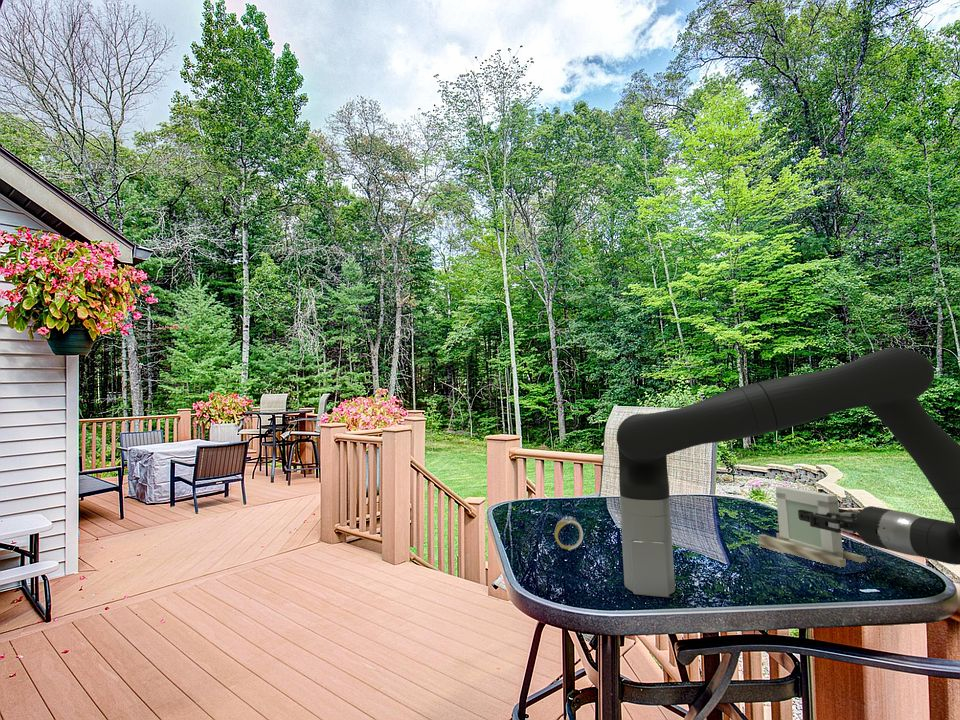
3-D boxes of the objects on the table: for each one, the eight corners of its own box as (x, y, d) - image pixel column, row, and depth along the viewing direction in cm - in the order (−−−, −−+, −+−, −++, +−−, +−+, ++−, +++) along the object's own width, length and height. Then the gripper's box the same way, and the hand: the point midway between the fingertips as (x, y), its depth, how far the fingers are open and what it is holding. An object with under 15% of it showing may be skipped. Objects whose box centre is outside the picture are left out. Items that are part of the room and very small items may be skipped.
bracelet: (582, 547, 115) (580, 514, 116) (584, 551, 112) (583, 517, 113) (554, 548, 115) (553, 515, 116) (556, 552, 112) (555, 518, 113)
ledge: (867, 571, 95) (865, 556, 95) (841, 575, 93) (839, 560, 94) (782, 545, 114) (781, 532, 115) (759, 547, 113) (758, 534, 113)
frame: (843, 563, 98) (837, 495, 99) (834, 564, 97) (827, 496, 99) (789, 546, 110) (784, 486, 112) (780, 547, 110) (775, 486, 111)
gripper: (920, 508, 89) (837, 493, 105) (864, 513, 86) (787, 497, 101) (925, 548, 88) (841, 527, 104) (869, 555, 85) (790, 533, 101)
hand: (814, 513), depth 103 cm, fingers open, 8 cm apart
